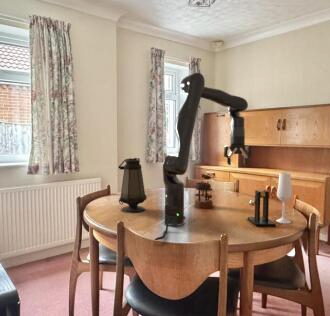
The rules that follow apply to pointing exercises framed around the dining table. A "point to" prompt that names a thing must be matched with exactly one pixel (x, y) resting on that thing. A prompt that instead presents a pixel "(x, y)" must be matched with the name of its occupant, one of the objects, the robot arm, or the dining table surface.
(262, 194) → the latch lever
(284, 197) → the champagne flute
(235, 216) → the dining table surface
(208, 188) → the dark brown tall piece
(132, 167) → the lantern
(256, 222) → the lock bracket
